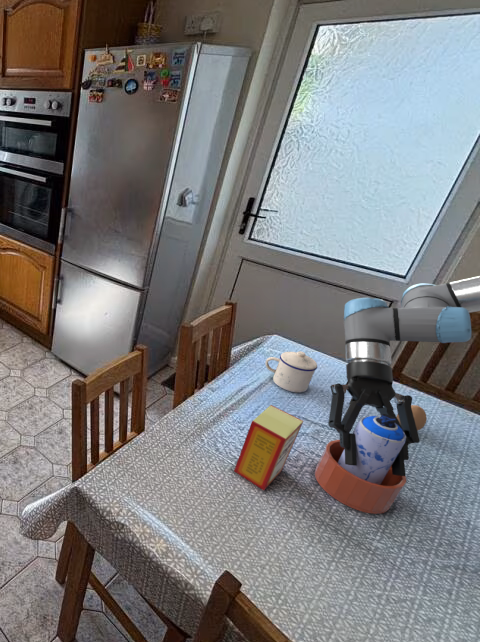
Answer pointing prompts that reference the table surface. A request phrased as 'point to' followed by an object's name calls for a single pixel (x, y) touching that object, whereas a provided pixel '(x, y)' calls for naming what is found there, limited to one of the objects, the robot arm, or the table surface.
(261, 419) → the baking soda box
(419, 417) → the egg
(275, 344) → the table surface
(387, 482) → the terracotta bowl
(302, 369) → the teacup with lid
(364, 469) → the aerosol can
